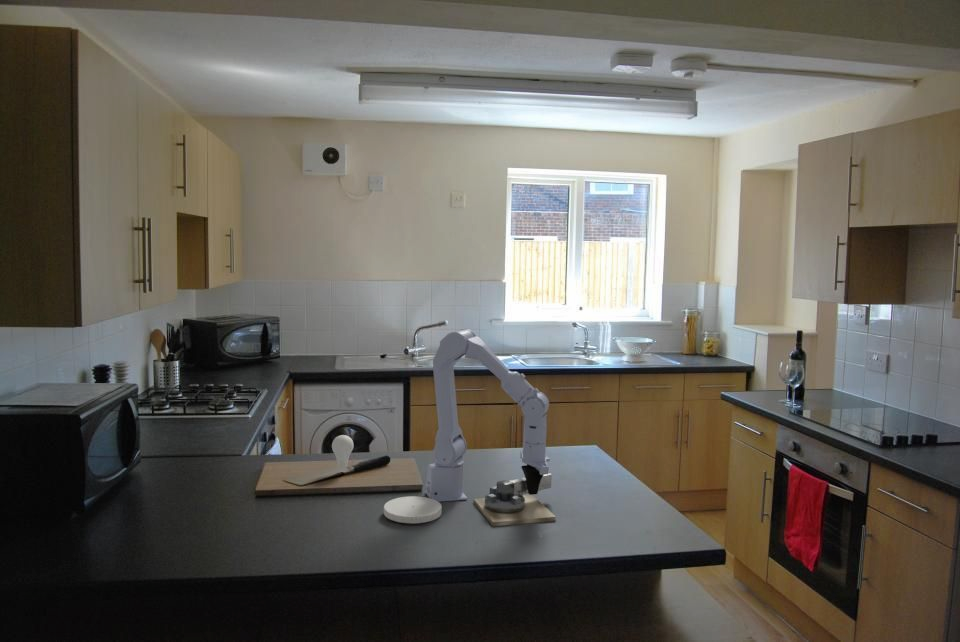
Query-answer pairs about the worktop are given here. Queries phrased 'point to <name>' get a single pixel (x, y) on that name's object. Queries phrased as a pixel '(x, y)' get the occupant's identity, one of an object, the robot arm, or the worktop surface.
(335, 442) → the lightbulb
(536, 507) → the square wooden board
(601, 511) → the worktop surface
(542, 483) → the metal lever mechanism
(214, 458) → the worktop surface
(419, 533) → the worktop surface
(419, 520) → the plastic lid
